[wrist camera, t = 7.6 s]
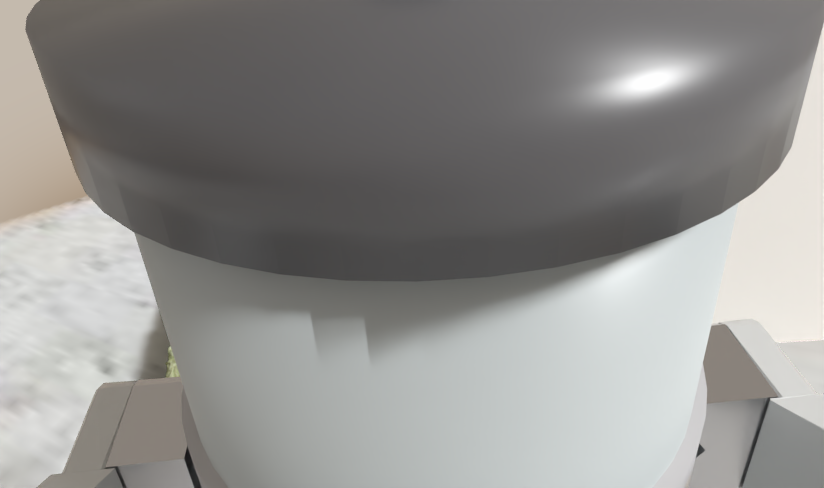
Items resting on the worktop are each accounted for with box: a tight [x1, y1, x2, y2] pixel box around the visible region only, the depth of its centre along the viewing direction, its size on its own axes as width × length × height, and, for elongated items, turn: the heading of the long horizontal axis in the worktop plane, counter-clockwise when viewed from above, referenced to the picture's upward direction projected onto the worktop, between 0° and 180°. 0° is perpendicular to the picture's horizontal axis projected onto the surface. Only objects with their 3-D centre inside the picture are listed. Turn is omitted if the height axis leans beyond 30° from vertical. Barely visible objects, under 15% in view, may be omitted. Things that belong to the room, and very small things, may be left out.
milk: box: [712, 24, 824, 343], centre depth 32 cm, size 12×12×26 cm
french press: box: [26, 0, 824, 488], centre depth 10 cm, size 9×7×16 cm
